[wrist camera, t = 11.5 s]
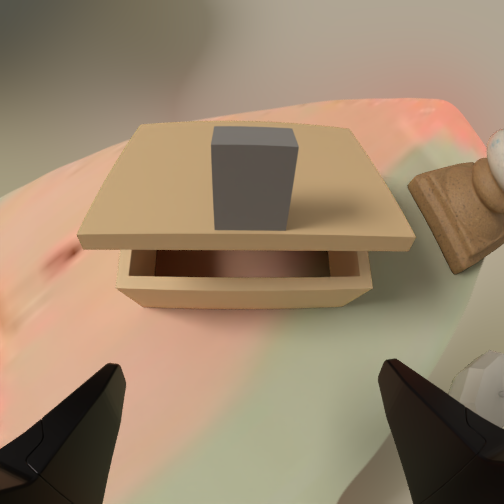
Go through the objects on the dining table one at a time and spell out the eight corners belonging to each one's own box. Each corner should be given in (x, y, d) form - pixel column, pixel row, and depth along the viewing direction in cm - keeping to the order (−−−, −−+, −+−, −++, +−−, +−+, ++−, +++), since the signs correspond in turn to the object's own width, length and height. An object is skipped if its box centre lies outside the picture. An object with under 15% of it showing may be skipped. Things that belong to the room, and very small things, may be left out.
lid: (408, 251, 14) (448, 169, 10) (83, 249, 13) (47, 161, 9) (346, 139, 22) (358, 82, 18) (141, 136, 21) (134, 76, 17)
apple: (454, 447, 19) (499, 456, 13) (416, 404, 21) (463, 408, 15) (494, 384, 21) (538, 380, 15) (461, 338, 23) (507, 326, 17)
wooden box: (342, 306, 24) (372, 288, 18) (142, 306, 23) (115, 287, 17) (326, 181, 28) (345, 140, 22) (157, 179, 27) (143, 137, 21)
